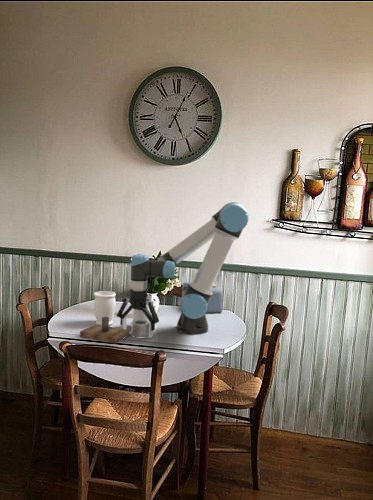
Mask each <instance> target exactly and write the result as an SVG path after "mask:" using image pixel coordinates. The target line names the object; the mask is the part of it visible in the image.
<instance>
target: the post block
mask: <svg viewBox="0 0 373 500" xmlns="http://www.w3.org/2000/svg"><path fill="white" fill-rule="evenodd" d="M128 335H129V336H130V329H126V330H125V329H122V328H119V327H114V326H110V325H109V317H102V325H98V324H96V323H94V324H91V325H89V327H86V328H84V329H81V330H80V331H79V336H80V338H85V339H89V340H96V341H100V342H105V343H111V344H117V343H119V342H121V341H123V340H124V339H125V338H124V337H126V336H128ZM129 336H128V337H129ZM123 338H124V339H123ZM126 338H127V337H126ZM122 339H123V340H122Z"/></svg>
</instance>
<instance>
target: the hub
mask: <svg viewBox="0 0 373 500" xmlns="http://www.w3.org/2000/svg"><path fill="white" fill-rule="evenodd" d="M149 324H150V322H149V321H146V320H134V321H133V320H132V321H131V328H130V335H131V336H132V337H133V336H134V337H133V338H136V337H147V336H148V337H149ZM148 337H147V338H148Z"/></svg>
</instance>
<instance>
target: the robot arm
mask: <svg viewBox="0 0 373 500" xmlns="http://www.w3.org/2000/svg"><path fill="white" fill-rule="evenodd" d="M248 222H249V214H248V211H247V209H246V208H245V207H244V205H242V204H240V203H237V202H234V201H233V202H228V203H226V204H224V205H223V206H222V207H221V208H220V209H218V211H217V212H216V213H214V214H213V215H211V219H210V220H209V221H207V222H206V223H204V224H203V225H202V226H200V227H199V228H197V229H196V230H195V231H193V232H192V233H190V235H188V236H187V237H185V238H184V239H183V240H181V241H180V242H179V243H177V244H176V245H174V246H173V247H172V248H171V249H169V250H168V251H167V252H165V253H164V254H161V255H159V256H158V258H157V259H156V260H155V259H154V260H153V259H149V255H147V254H142V253H141V254H140V253H139V254H137V253H136V254H133V255H132V256H131V264H130V284H129V285H130V287H129V288H130V292H129V297H130V298H129V297H128V296H127V297H124V298H123V301H122V304H121V306H120V307H119V310H118V311H117V314H116V317H117V318H120V320H119V321H120V326H121V329H125V330H127V317H126V316H127V315H128V314H130V312H131V311H133V308H134V309H137V310H142V312H144V314H145V315H146V317H147V318H148V320H149V321H150V324H149V336H148V339H151V338H153V337H152V336H154V334H153V333H154V331H155V330H156V328H155V327H156V324H157V323H159V322H160V319H159V317H158V315H157V312H156V309H155V306H154V301H153V300H151V301H148V300H147V297H148V290H147V289H148V280H149V279H148V278H149V277H150V278H163V279H173V278H174V277H175V274H176V272H175V271H176V266H177V265H178V264H179V263H181V262H182V261H183V260H185V259H186V258H188V257H189V256H191V255H193V254H194V253H195V252H196V251H198V250H199V249H201V248H202V247H204V245H206V244H207V243H209V242H210V241H211V242H210V245H209V246H208V249H207V251H206V253H205V256H204V257H203V260H202V262H201V264H200V266H199V269H198V271H197V273H196V276H195V277H194V280H193V281H184V282H183V283H182V287H181V300H180V303H179V308H180V310H181V312H180V315H179V317H178V321H177V323H176V330H177V331H179V332H180V331H181V333H183V332H184V334H188V333H189V334H190V335H199V334H200V335H201V334H206V333H207V332H208V331H209V323H208V319H207V315H206V313H205V312H206V311H207V305H208V303H209V301H210V299H211V297H212V294H213V293H212V290H211V288H212V286H213V284H215V283H216V280H217V278H218V277H219V276H218V275H219V273H220V271H221V268H222V267H223V264H224V263H225V260H226V258H227V256H228V254H229V252H230V249H231V247H232V245H233V243H234V241H236V240H238V239H239V238H240V236H241V235H242V232H243V230H244V229H245V228H246V226H247V225H248ZM128 303H129V304H130V305H129V306H128ZM146 305H148V306H149V310H150V312H149V311H148V308H147V307H146ZM127 306H128V308H127V309H126V307H127ZM125 309H126V310H125Z"/></svg>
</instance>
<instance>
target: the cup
mask: <svg viewBox="0 0 373 500" xmlns="http://www.w3.org/2000/svg"><path fill="white" fill-rule="evenodd" d="M146 307H147V308H148V311H149V312H150V310H149V306H148V305H146ZM150 313H151V312H150ZM134 320H146V321H149V320H148V318H147V317H146V315H145V314H144V312H142V310H137V309H134V308H133V309H132V321H134ZM149 322H150V321H149Z"/></svg>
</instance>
